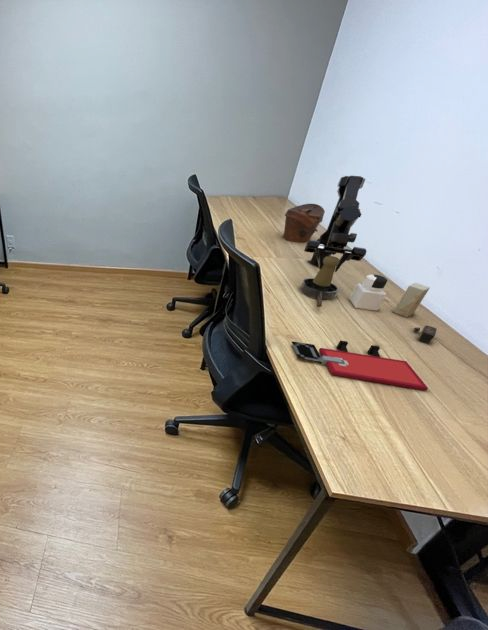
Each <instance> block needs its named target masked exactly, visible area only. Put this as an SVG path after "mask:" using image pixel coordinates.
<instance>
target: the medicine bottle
mask: <svg viewBox="0 0 488 630" xmlns="http://www.w3.org/2000/svg"><path fill="white" fill-rule="evenodd" d="M387 283H388V278H387V277H385V276H383V275H380V274H374V273H373V274H368V275H366V277H365V278H364V280H363V282H362V283H356V285H355V287H354V289H353V290H352V293H351V295H350V297H349V301H350V302H351V304H352V305H353V307H354V309H361V310H369V311H374V312H375V311H376V312H377V311H379V309H380V307H381V306H382V303H383V302H384V300H385V299H386V297H387V293H386V291H384V288H385V287H386V285H387Z"/></svg>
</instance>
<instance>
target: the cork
mask: <svg viewBox="0 0 488 630" xmlns="http://www.w3.org/2000/svg"><path fill="white" fill-rule="evenodd" d="M339 262H340V258H338V257H337V256H334V255H331V256H327V257H325V258H324V259H323V265H322V267H321V269H319V270H318V272H317V273H316V275H314V277H313V279H314V280H313V282H314V283H315V284H317V285H320V286H330V285H331V283H332V281H333V278H334V274H335V269H336V267H337V266H338V264H339Z"/></svg>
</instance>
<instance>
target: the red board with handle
mask: <svg viewBox="0 0 488 630" xmlns="http://www.w3.org/2000/svg"><path fill="white" fill-rule="evenodd" d="M348 344H349V342H348V341H346V340H339V341H338V343H337V345H336V346H335V347H336V349H331V348H325V347H319V349H317V347H316V345H315V344H312V343H305V342H299V341H292V340H291V345H292V346H293V349H294V351H295V354H296V356H297V358H298V359H303V360H309V361H315V362H320V364H321V365H323V366H326V367H327V369H328V371H329V373H330V374H331V375H333V376H339V377H345V378H349V379H356V380H361V381H369V382H374V383H379V384H384V385H385V384H386V385H391V386H397V387H403V388H408V389H414V390H420V391H426V392H427V391H428V389H429V387H428V386H427V385H426V383H425V382H424V381H423V380H422V378H420V376H419V375H418V373H416V371H415V370H414V369H413V368H412V366H411V365H410V364H409V363H408V362H407V360H401V359H395V358H388V357H381V356H380V353H379V350H380V349H381V347H380V345H373V344H371V345H370V347H369V348H368V349H367V354H362V353H357V352H349V351H348V347H347V346H348ZM319 353H320V354H319Z"/></svg>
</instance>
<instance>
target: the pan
mask: <svg viewBox="0 0 488 630" xmlns="http://www.w3.org/2000/svg"><path fill="white" fill-rule="evenodd" d="M313 280H314V277H313V278H312V277H311V278H305V279H303V280H302V282H301V284H300V287H299V290H300V292H301V293H303V294H304V295H306V296H307V297H310V298H313V299H316V300H317V293H318V291H319V292H322V301H328V300H333V299H335V298H336V297H337V295H338V294H339V291H340V288H339V286H337V285H336V284H335V283H333V282H331V285H330V286H320V285H317V284H315V283H314V282H313Z"/></svg>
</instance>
